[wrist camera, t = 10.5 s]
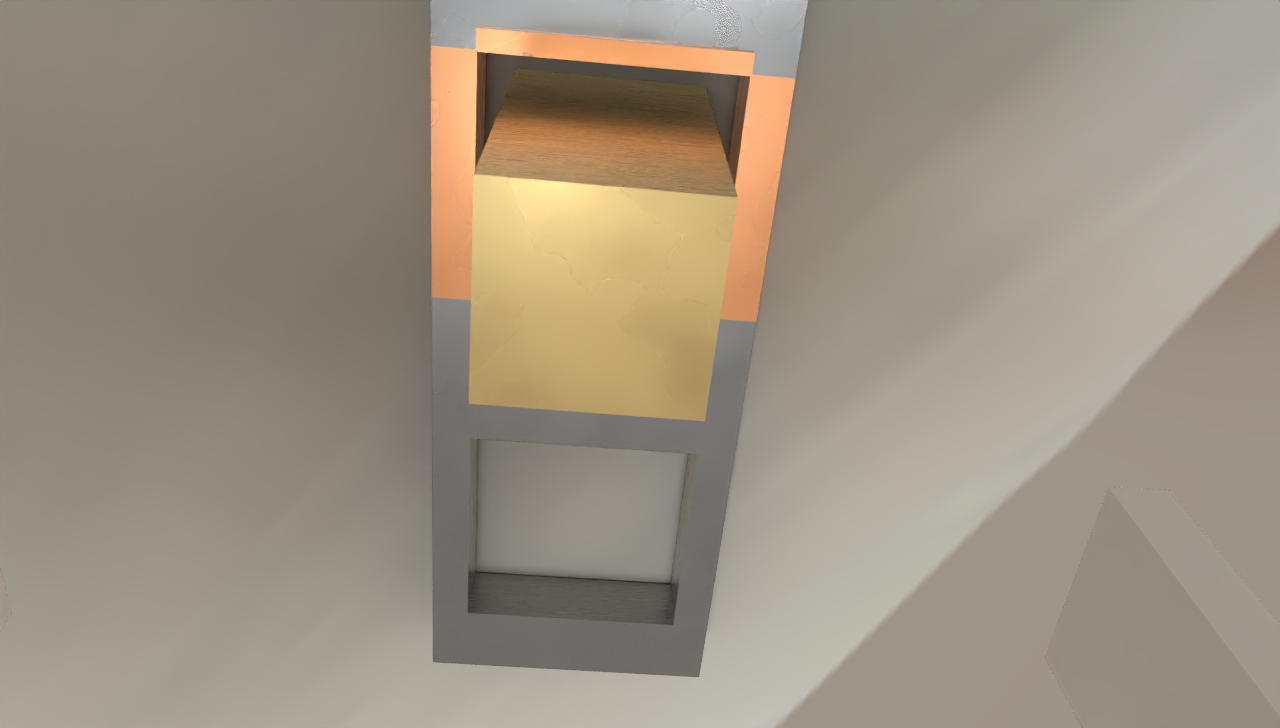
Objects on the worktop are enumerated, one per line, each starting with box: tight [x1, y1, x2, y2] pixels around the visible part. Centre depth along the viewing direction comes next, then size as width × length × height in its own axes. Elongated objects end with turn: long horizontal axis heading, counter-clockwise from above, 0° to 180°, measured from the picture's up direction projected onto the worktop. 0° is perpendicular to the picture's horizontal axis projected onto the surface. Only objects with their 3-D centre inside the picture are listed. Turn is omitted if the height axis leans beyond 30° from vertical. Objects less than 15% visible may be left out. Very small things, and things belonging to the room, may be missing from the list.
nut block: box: [469, 69, 738, 421], centre depth 22 cm, size 4×4×8 cm
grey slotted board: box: [431, 0, 808, 677], centre depth 27 cm, size 8×20×2 cm, turn 175°
